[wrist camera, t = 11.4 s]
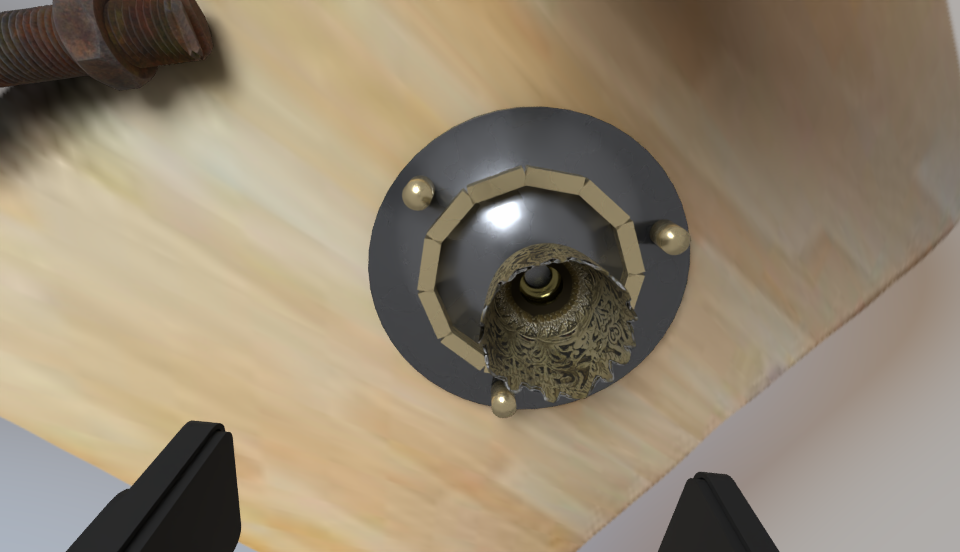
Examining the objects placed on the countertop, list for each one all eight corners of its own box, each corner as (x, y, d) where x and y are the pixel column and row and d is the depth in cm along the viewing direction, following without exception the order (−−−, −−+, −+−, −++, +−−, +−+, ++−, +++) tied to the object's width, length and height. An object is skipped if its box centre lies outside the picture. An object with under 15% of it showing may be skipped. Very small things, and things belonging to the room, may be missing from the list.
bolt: (237, 48, 27) (-17, 82, 27) (187, -54, 23) (-110, -14, 23) (210, 101, 23) (-84, 140, 23) (145, -10, 19) (-208, 38, 19)
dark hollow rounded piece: (617, 239, 28) (668, 291, 20) (570, 341, 30) (600, 419, 23) (501, 201, 27) (510, 240, 20) (463, 308, 30) (458, 380, 22)
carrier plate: (390, 75, 26) (378, 72, 23) (728, 141, 27) (760, 146, 24) (359, 377, 33) (347, 405, 30) (629, 416, 34) (644, 446, 31)
